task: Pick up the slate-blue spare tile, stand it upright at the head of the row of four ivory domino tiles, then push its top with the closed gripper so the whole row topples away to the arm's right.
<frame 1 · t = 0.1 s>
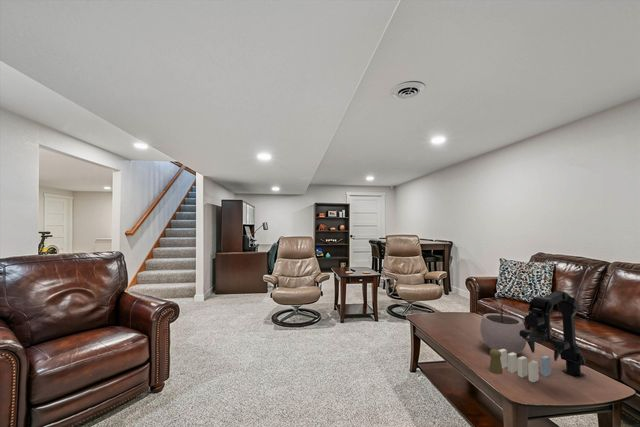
hand: (544, 356, 133), 15 cm above the table, fingers open, 9 cm apart
domino 1: (546, 374, 144), on the table
domino 4: (512, 371, 148), on the table
cork: (495, 371, 148), on the table
plant pot: (503, 353, 169), on the table
domino 3: (522, 375, 143), on the table
domino 2: (533, 380, 139), on the table
domino 5: (502, 366, 152), on the table
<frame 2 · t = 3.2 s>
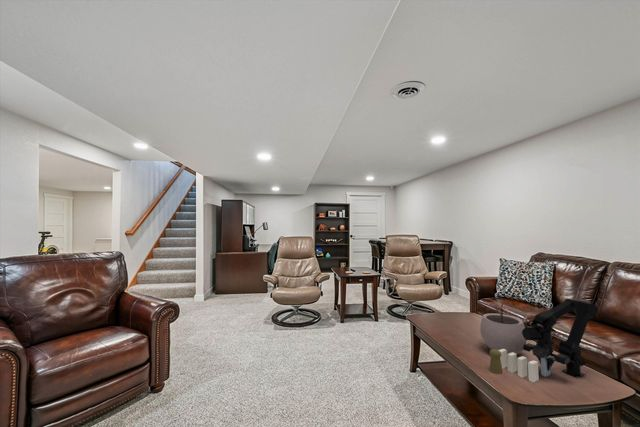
hand: (545, 369, 144), 3 cm above the table, fingers closed on domino 1, 2 cm apart
domino 1: (546, 374, 144), on the table, touching gripper
everything else where it was.
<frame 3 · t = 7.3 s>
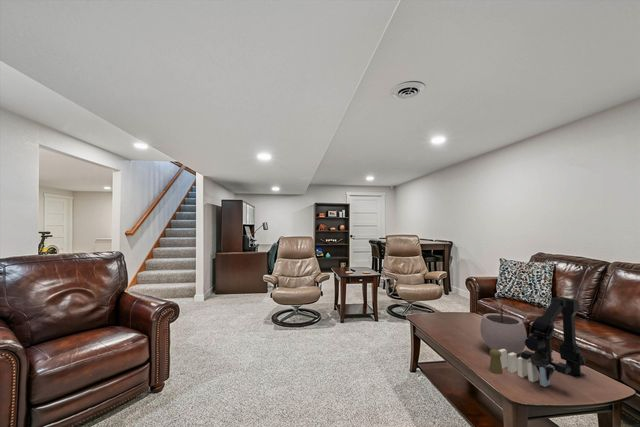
hand: (545, 379, 134), 3 cm above the table, fingers closed on domino 1, 2 cm apart
domino 1: (545, 384, 134), on the table, touching gripper
everything else where it was.
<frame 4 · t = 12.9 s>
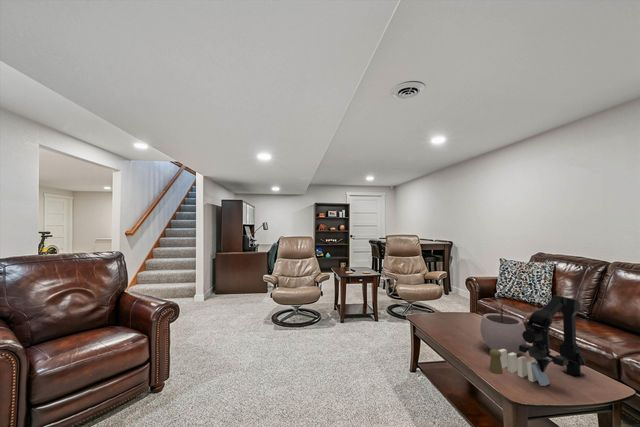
hand: (542, 371, 135), 6 cm above the table, fingers closed
domino 1: (545, 384, 134), on the table, tilted 23°
everything else where it was.
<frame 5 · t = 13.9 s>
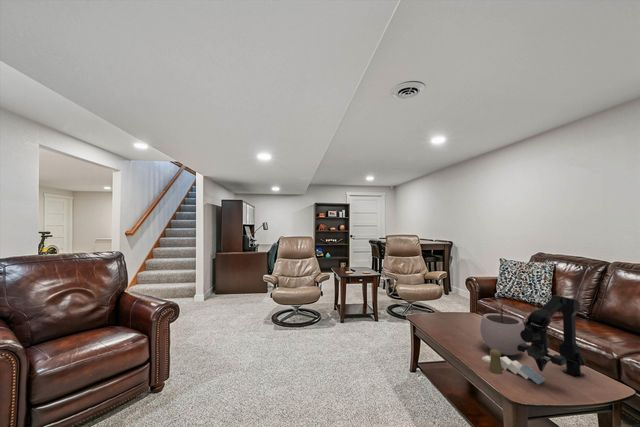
hand: (541, 371, 136), 6 cm above the table, fingers closed
domino 1: (541, 381, 136), point 1 cm above the table, tilted 67°, touching domino 2
domino 4: (508, 367, 149), point 1 cm above the table, tilted 71°, touching domino 3, domino 5
domino 3: (519, 372, 145), point 1 cm above the table, tilted 67°, touching domino 2, domino 4
domino 2: (530, 376, 140), point 1 cm above the table, tilted 67°, touching domino 1, domino 3
domino 5: (500, 365, 153), on the table, tilted 90°, touching domino 4
everything else where it was.
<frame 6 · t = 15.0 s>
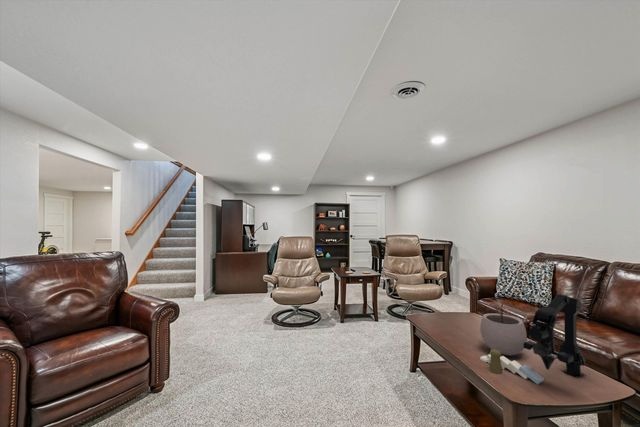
hand: (547, 369, 134), 8 cm above the table, fingers closed
domino 4: (506, 366, 150), point 1 cm above the table, tilted 71°, touching domino 3
domino 3: (517, 371, 146), point 1 cm above the table, tilted 68°, touching domino 4
domino 2: (529, 376, 140), point 1 cm above the table, tilted 68°, touching domino 1
domino 5: (498, 364, 154), on the table, tilted 90°
everything else where it was.
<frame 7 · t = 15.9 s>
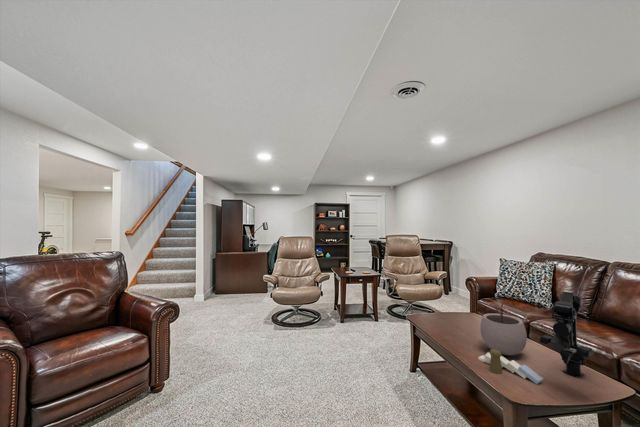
hand: (565, 363, 130), 12 cm above the table, fingers closed
domino 4: (503, 365, 151), point 1 cm above the table, tilted 70°, touching domino 3
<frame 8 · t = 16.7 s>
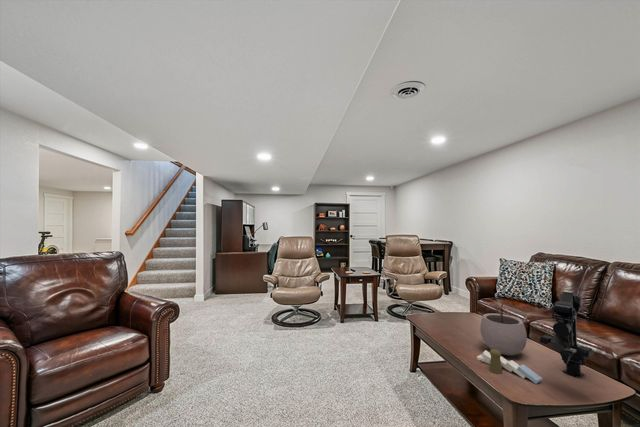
hand: (565, 363, 130), 12 cm above the table, fingers closed
domino 4: (500, 364, 152), point 1 cm above the table, tilted 67°, touching domino 3, domino 5
domino 3: (513, 369, 147), point 1 cm above the table, tilted 67°, touching domino 2, domino 4
domino 2: (526, 375, 141), point 1 cm above the table, tilted 70°, touching domino 1, domino 3
domino 5: (495, 363, 155), on the table, tilted 90°, touching domino 4
at the end: domino 5 tilted 90°; domino 1 tilted 69° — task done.
